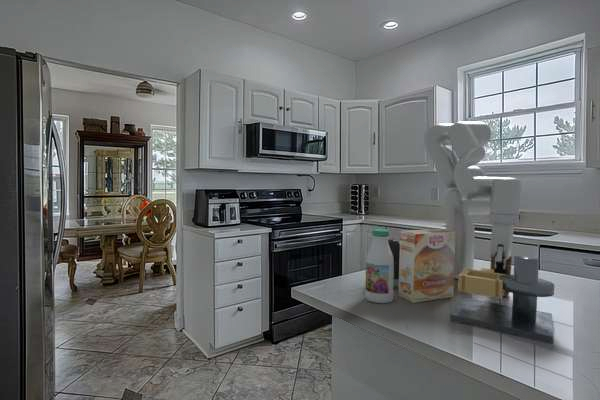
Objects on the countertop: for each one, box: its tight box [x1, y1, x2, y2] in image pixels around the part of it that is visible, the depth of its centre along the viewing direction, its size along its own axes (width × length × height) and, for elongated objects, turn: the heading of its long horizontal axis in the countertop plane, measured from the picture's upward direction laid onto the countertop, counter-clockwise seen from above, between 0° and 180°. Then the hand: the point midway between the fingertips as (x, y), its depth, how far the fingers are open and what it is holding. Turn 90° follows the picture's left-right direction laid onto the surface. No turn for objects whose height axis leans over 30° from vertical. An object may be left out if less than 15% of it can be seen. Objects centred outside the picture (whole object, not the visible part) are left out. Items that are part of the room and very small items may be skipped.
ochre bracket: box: [457, 267, 506, 300], centre depth 89 cm, size 10×14×4 cm, turn 144°
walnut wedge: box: [489, 255, 513, 297], centre depth 103 cm, size 5×4×11 cm
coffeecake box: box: [397, 228, 456, 303], centre depth 101 cm, size 15×7×20 cm, turn 112°
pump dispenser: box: [388, 238, 400, 289], centre depth 111 cm, size 10×10×15 cm
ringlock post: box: [450, 255, 555, 345], centre depth 84 cm, size 20×16×16 cm
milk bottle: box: [364, 228, 394, 304], centre depth 98 cm, size 8×8×20 cm
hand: (500, 279), depth 103 cm, fingers closed on walnut wedge, 4 cm apart
